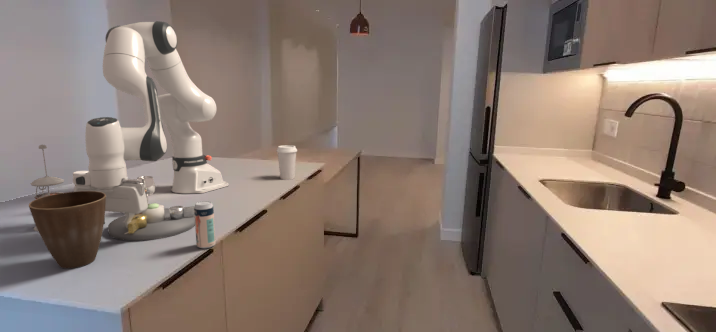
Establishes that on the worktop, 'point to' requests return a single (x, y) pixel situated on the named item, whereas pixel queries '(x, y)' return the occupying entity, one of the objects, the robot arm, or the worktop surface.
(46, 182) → the vented spool lamp
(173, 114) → the robot arm
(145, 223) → the knob brass
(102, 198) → the plant pot
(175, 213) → the knob steel
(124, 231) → the tribrach
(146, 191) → the wineglass
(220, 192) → the worktop surface
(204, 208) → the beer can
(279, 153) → the coffee cup
